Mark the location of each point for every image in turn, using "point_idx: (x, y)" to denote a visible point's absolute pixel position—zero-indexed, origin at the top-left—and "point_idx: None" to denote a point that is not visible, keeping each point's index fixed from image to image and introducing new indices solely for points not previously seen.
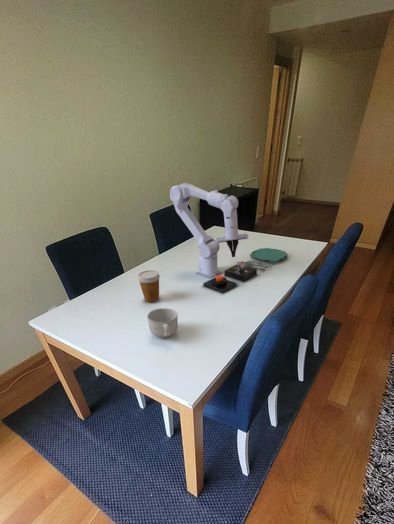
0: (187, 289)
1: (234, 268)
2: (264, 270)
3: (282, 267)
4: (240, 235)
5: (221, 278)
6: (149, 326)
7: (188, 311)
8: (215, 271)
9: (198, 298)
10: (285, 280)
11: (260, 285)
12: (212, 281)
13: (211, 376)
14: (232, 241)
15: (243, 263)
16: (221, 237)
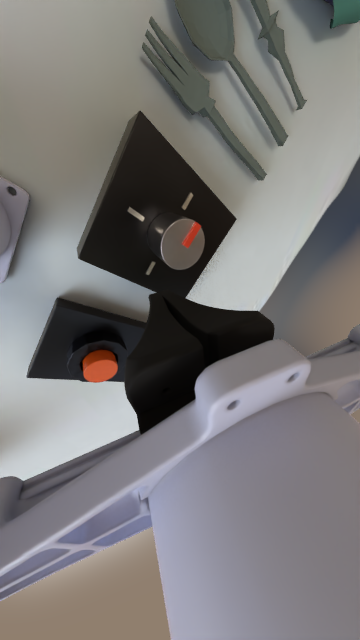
0: None
1: (132, 219)
2: (258, 179)
3: (333, 103)
4: (345, 406)
5: (112, 375)
6: None
7: (69, 451)
8: (5, 246)
9: (61, 416)
10: (282, 252)
11: (217, 300)
12: (60, 353)
13: None
14: (206, 344)
15: (196, 252)
16: (43, 549)
